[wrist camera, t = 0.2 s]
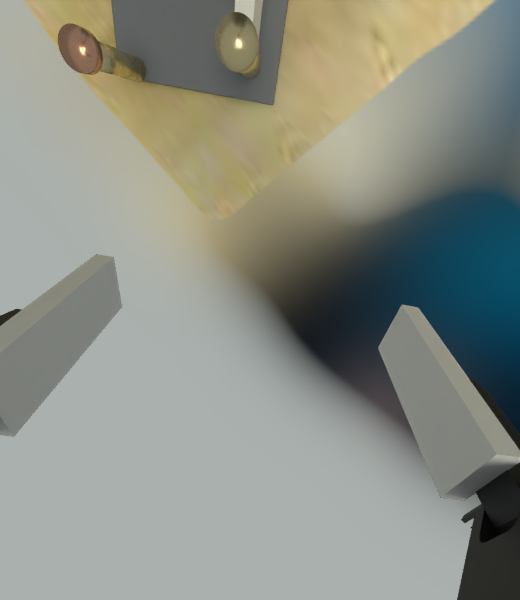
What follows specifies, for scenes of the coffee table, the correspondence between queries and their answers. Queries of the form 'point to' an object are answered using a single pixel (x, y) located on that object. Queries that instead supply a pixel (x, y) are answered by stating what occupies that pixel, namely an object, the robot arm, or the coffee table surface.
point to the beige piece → (251, 11)
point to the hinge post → (238, 44)
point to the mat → (197, 45)
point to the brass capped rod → (96, 55)
